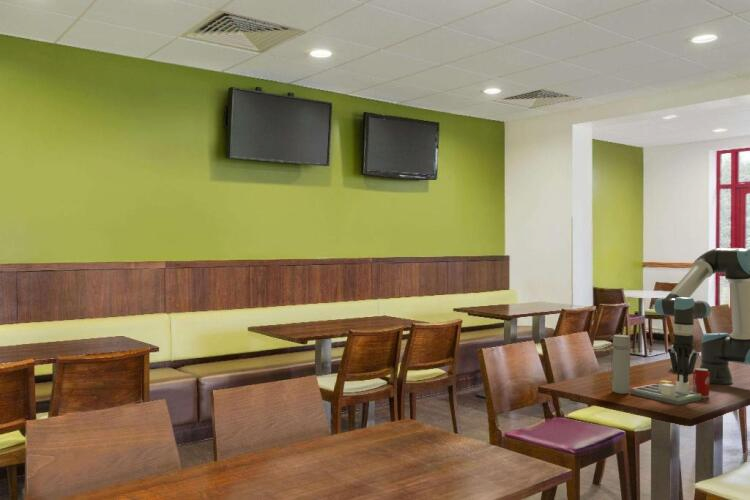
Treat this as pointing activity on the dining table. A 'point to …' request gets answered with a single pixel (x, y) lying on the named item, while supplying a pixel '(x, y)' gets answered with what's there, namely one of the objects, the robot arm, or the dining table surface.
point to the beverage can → (701, 382)
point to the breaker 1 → (668, 389)
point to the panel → (654, 393)
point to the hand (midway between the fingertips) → (682, 390)
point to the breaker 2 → (684, 390)
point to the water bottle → (620, 364)
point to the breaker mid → (664, 383)
